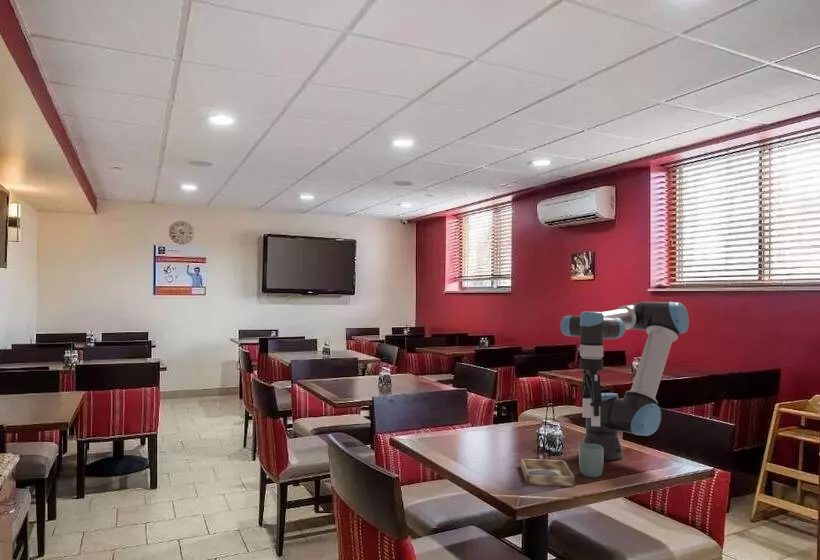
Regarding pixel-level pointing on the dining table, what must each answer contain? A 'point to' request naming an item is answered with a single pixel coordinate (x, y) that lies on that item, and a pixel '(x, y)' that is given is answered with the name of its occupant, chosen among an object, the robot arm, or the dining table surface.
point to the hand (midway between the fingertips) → (590, 421)
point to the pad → (543, 473)
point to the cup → (591, 459)
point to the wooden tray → (549, 465)
